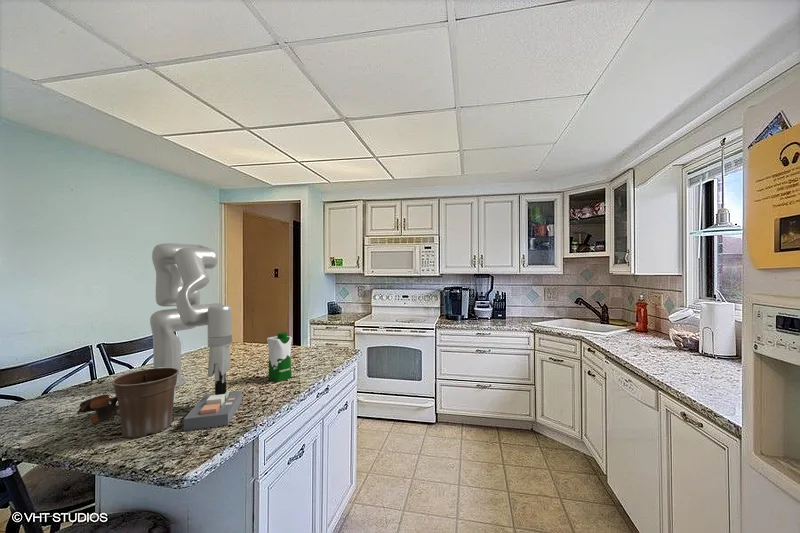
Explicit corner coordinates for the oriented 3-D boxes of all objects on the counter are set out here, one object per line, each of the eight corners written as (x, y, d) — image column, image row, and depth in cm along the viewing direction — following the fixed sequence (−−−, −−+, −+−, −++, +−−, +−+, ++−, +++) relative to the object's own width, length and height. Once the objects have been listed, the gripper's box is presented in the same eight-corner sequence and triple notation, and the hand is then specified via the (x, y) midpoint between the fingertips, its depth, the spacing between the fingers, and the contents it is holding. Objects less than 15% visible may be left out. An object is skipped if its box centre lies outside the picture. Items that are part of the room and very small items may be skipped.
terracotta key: (204, 414, 108) (204, 405, 108) (220, 412, 109) (220, 403, 109) (200, 420, 104) (200, 410, 104) (216, 418, 105) (216, 408, 105)
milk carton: (277, 383, 142) (276, 335, 142) (264, 379, 147) (264, 333, 148) (294, 377, 149) (294, 332, 149) (282, 374, 154) (281, 330, 155)
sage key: (215, 400, 119) (215, 392, 120) (229, 399, 121) (229, 390, 121) (211, 405, 115) (211, 396, 115) (226, 403, 116) (225, 395, 116)
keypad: (205, 404, 121) (205, 393, 121) (242, 400, 124) (242, 390, 124) (183, 430, 100) (183, 418, 100) (228, 425, 103) (227, 413, 103)
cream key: (210, 404, 114) (210, 395, 114) (224, 403, 115) (224, 394, 115) (206, 409, 109) (206, 400, 109) (221, 408, 110) (221, 398, 111)
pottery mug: (78, 429, 104) (71, 404, 106) (87, 431, 111) (81, 408, 113) (126, 409, 111) (119, 386, 113) (132, 413, 118) (125, 390, 120)
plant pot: (159, 440, 95) (158, 382, 95) (97, 444, 93) (96, 385, 94) (190, 415, 111) (189, 366, 111) (137, 418, 110) (136, 368, 110)
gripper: (214, 337, 124) (215, 387, 124) (201, 346, 110) (201, 403, 110) (236, 336, 126) (237, 385, 126) (226, 344, 112) (227, 400, 112)
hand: (220, 393), depth 118 cm, fingers closed
